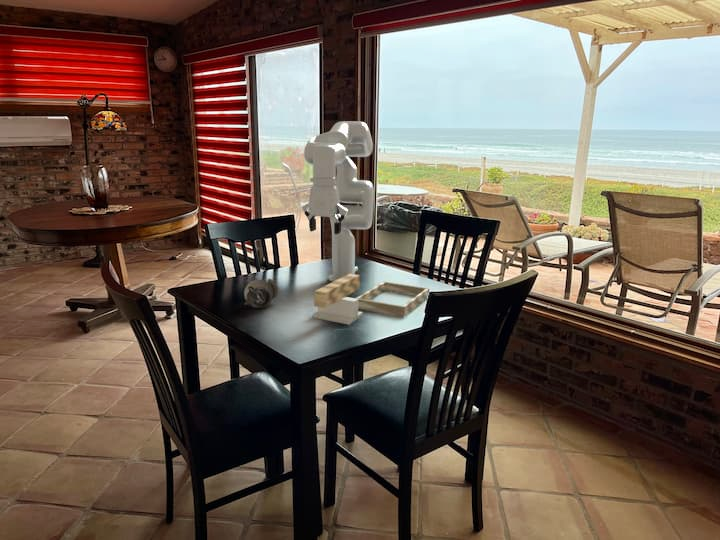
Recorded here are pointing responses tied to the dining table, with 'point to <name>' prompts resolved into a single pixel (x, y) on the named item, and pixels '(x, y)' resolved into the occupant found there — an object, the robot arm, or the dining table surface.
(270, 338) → the dining table surface
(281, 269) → the dining table surface
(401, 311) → the birch crate frame
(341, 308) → the ridge block
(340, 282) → the oak batten
